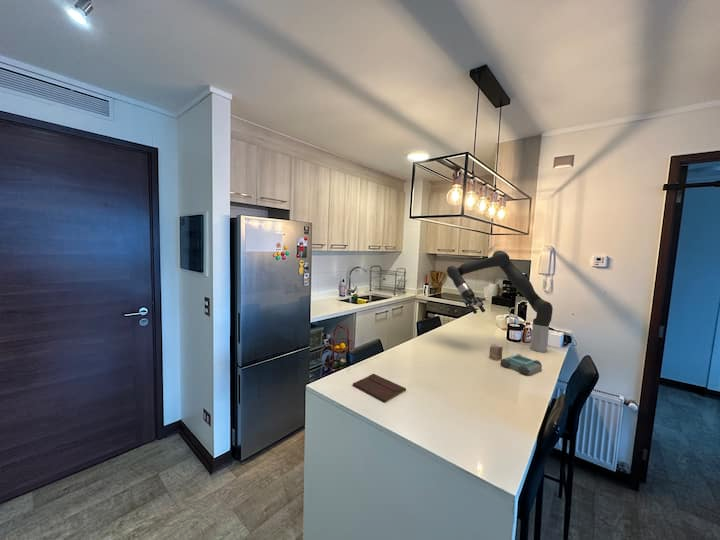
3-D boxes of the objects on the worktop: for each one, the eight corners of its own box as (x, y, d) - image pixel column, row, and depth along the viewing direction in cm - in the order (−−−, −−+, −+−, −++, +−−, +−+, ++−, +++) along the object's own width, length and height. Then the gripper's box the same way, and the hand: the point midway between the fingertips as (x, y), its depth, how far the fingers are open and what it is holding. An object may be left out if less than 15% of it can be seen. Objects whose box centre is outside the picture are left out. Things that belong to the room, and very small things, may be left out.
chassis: (513, 359, 174) (514, 351, 174) (542, 370, 161) (543, 361, 160) (499, 365, 165) (499, 356, 165) (528, 376, 152) (529, 367, 152)
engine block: (493, 356, 179) (494, 343, 178) (501, 359, 175) (502, 346, 174) (489, 357, 176) (490, 344, 175) (497, 360, 172) (498, 347, 171)
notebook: (384, 404, 122) (385, 399, 122) (352, 386, 136) (352, 382, 136) (405, 391, 133) (406, 387, 133) (373, 376, 147) (373, 373, 146)
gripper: (462, 288, 185) (477, 310, 177) (476, 287, 193) (490, 308, 185) (455, 295, 190) (469, 316, 182) (468, 294, 198) (482, 314, 190)
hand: (480, 312), depth 183 cm, fingers open, 8 cm apart
